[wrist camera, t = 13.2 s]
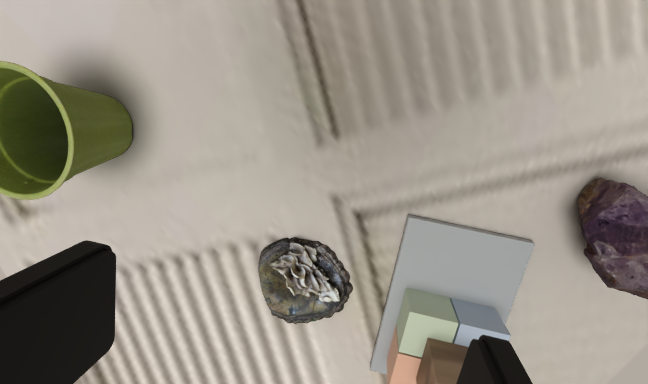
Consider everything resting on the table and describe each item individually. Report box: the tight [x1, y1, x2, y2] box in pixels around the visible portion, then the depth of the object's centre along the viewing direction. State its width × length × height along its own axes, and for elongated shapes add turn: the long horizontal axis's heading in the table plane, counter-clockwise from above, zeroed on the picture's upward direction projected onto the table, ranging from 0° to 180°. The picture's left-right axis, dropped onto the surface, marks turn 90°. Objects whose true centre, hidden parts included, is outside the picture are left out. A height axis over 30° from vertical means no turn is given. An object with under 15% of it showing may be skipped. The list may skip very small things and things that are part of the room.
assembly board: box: [370, 214, 535, 374], centre depth 40 cm, size 20×13×1 cm, turn 170°
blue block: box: [450, 298, 511, 347], centre depth 38 cm, size 5×5×5 cm
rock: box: [577, 178, 648, 299], centre depth 32 cm, size 12×9×10 cm
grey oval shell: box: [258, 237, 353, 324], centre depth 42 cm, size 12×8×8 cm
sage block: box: [396, 288, 459, 357], centre depth 38 cm, size 5×5×5 cm
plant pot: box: [0, 61, 132, 200], centre depth 36 cm, size 12×12×11 cm
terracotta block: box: [387, 326, 422, 384], centre depth 39 cm, size 5×5×5 cm
